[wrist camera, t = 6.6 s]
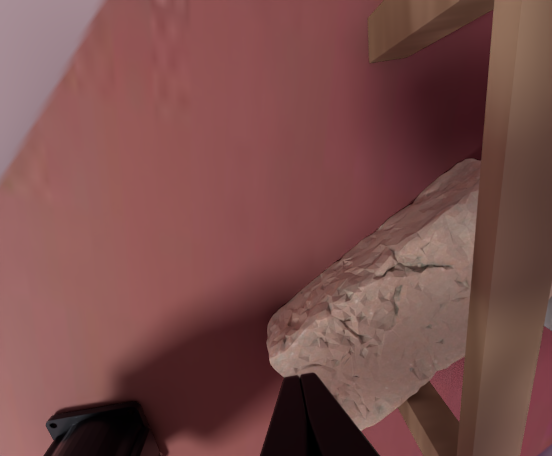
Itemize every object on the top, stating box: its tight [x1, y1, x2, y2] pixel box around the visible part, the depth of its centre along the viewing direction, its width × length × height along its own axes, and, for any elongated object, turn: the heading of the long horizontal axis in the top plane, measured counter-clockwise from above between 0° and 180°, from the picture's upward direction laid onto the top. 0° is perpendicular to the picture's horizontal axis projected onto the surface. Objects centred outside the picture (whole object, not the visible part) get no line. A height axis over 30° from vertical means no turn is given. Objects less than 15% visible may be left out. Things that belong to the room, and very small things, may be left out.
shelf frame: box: [368, 0, 552, 456], centre depth 13 cm, size 10×23×9 cm, turn 8°
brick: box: [266, 158, 552, 431], centre depth 17 cm, size 17×8×5 cm, turn 132°
